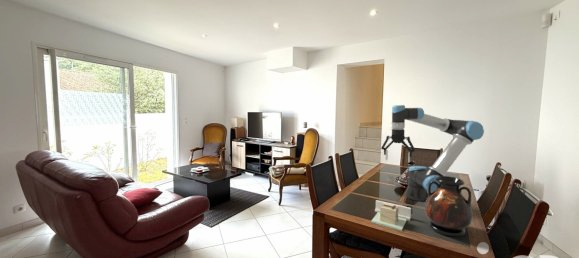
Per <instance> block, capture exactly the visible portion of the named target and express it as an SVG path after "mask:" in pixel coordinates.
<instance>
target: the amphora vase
mask: <svg viewBox="0 0 579 258" xmlns="http://www.w3.org/2000/svg"><path fill="white" fill-rule="evenodd" d="M435 180H436V181H438V182H439V184H438V183H437V182H435V181H431V182H430V183H429V187H428V190H427V193H428V197H427V199H426V201H424V208H423V209H424V213H425V216H426V217H427V219H428V220H429V221H428V226H429V227H430V228H431V230H433V231H434V232H436V233H438V234H440V235H444V236H448V237H454V238H457V237H458V238H459V237H462V236H465V234H466V229H467V228H469V226H470V225H471V224H472V222H473V218H474V214H473V213H474V212H473V209H472V207H471V206H472V190H471V189H470V188H469V187H467V186H464V185H465V183H466V182H465V181H464V180H463V179H461V178H458V177H455V176H448V175H447V176H446V175H445V176H438V177H436V178H435ZM432 184H436V185H437V189H436V190H435V191H433V192H431V185H432ZM464 190H465V191H467V193H468V194H467V195H468V197H467V198H466V196H464V194H463V193H462V191H464Z"/></svg>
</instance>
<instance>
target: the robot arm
mask: <svg viewBox="0 0 579 258" xmlns="http://www.w3.org/2000/svg"><path fill="white" fill-rule="evenodd" d="M405 121H410V122H413V123H417V124H421V125H424V126H427V127H431V128H433V129H434V128H435V129H438V130H439V131H440V132H443V133H445V134H448V135H451V136H452V137H453V138H452V139H451V140H450V142H449V143H448V144H447V146H446V147H445V148H444V149H443V151H442V152H441V153H440V154H439V156H438V158H436V160H435V161H434V163H433V164H432V165H431V166H428V167H427V166H422V165H412V166H409V168H408V179H407V180H408V182H407V184H408V185H407V187H406V189H405V192H404V193H405V194H404V196H405V197H406V198H407V199H409V200H413V201H418V202H426V199H427V197H428V187H429V183H430V182H431V181H435V182H437V183H438V184H439V182H438V181H436V180H435V178H436V177H438V176H446V174H447V172H448V171H449V169H450V168H451V167H452V165H454V162H455V161H456V160H457V158H459V156H460V155H461V154H462V152H463V151H464V150H465V148H466V147H467V146H468V145H472V143H473V142H474V141H475V140H476V141H477V140H480V139H482V138H483V136H484V133H485V129H484V126H483V125H482V124H481V122H478V121H474V120H464V119H463V120H461V119H450V118H447V117H446V118H441V117H437V116H434V115H431V114H427V113H425V110H424V108H422V107H406V106H405V105H404V104H403V105H401V104H399V105H398V104H396V105H393V106H392V110H391V135H386V139H385V140H384V142H383V144H382V146H381V148H380V149H381V150H383V155H384V156H385V161H388V157H389V155H388V153H389V150H388V149H389V148H390V147H391V145H392V144H393V143H395V144H402V145H403V146H404V147H405V148H406V150H407V151H408V153H407V154H408V155H407V163H410V162H411V158H412V157H413V153H414V152H416V149H415V146H414V145H413V142H412V141H411V137H410V136H405V126H406V125H405V124H406V122H405ZM390 139H391V141H390V143H388V141H389V140H390ZM405 140H406V141H407V143H408V144H407V143H406V142H405ZM387 143H388V144H387ZM436 189H437V185H436V184H432V185H431V193H432V192H433V191H435V190H436Z"/></svg>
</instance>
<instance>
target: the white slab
mask: <svg viewBox="0 0 579 258" xmlns="http://www.w3.org/2000/svg"><path fill="white" fill-rule="evenodd" d="M383 203H388V204H392V205H397V206H399V209H398V217H400V218H404V219H406V221H411V219H412V218H411V217H412V207H409V206H408V207H407V206H403V205H400V204H395V203H390V202H385V201H382V200H377V199H376V200H375V209H374V212H375V213H378V212H380V209H381V206H382V205H383Z"/></svg>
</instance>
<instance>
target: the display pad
mask: <svg viewBox="0 0 579 258" xmlns="http://www.w3.org/2000/svg"><path fill="white" fill-rule="evenodd" d="M371 223H372V224H376V225H380V226H383V227H386V228H390V229H393V230H397V231H400V232H403V229H404V226H405V224H406V223H407V220H406V219H404V218H400V217H398V220H397V222H396V224H395V225H394V224H390V223H387V222H383V221H380V212H376V214H375V215H374V217H373V218H372V219H371Z"/></svg>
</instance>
